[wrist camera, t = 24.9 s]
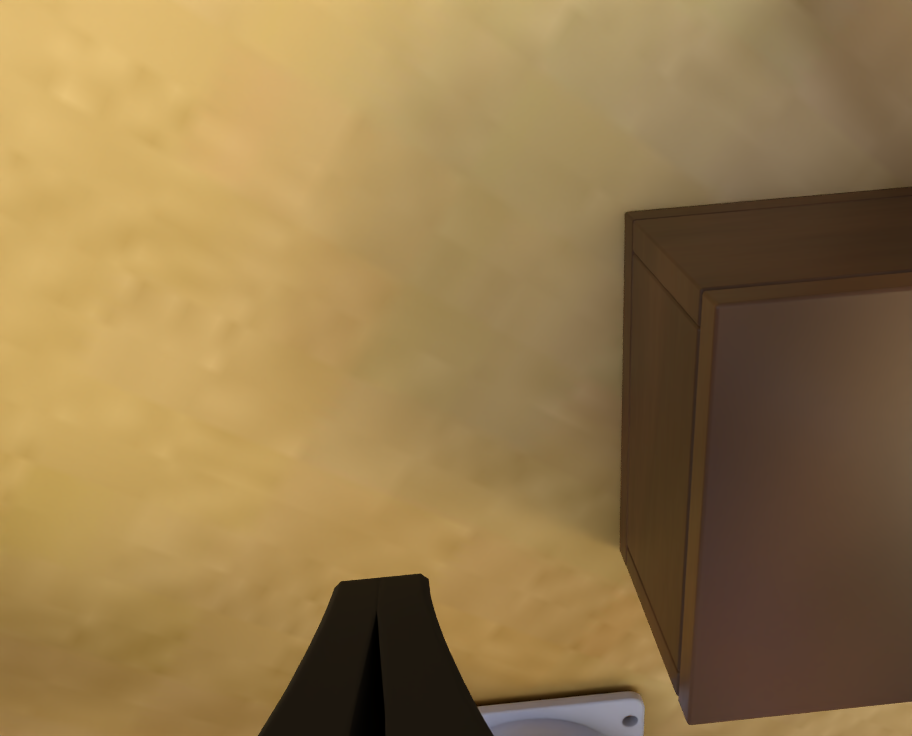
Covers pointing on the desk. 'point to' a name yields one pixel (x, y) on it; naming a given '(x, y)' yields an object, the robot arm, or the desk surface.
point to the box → (678, 338)
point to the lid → (800, 501)
